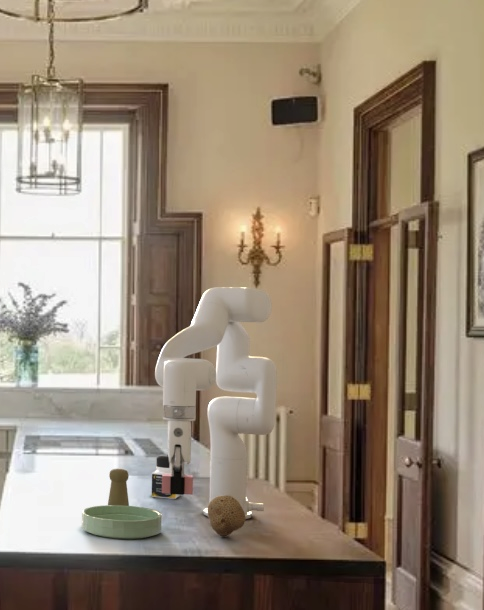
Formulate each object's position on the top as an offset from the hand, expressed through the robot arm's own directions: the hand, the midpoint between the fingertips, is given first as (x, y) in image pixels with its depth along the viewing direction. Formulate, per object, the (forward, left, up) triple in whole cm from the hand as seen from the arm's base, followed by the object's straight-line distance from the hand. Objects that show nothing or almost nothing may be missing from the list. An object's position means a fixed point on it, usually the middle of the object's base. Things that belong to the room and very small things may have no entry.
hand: (177, 492), depth 233 cm
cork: (+17, -38, -12) cm, 43 cm away
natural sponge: (-11, -12, -12) cm, 21 cm away
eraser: (0, 0, 0) cm, 0 cm away
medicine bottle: (+5, -62, -12) cm, 63 cm away
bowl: (+14, -11, -12) cm, 21 cm away
